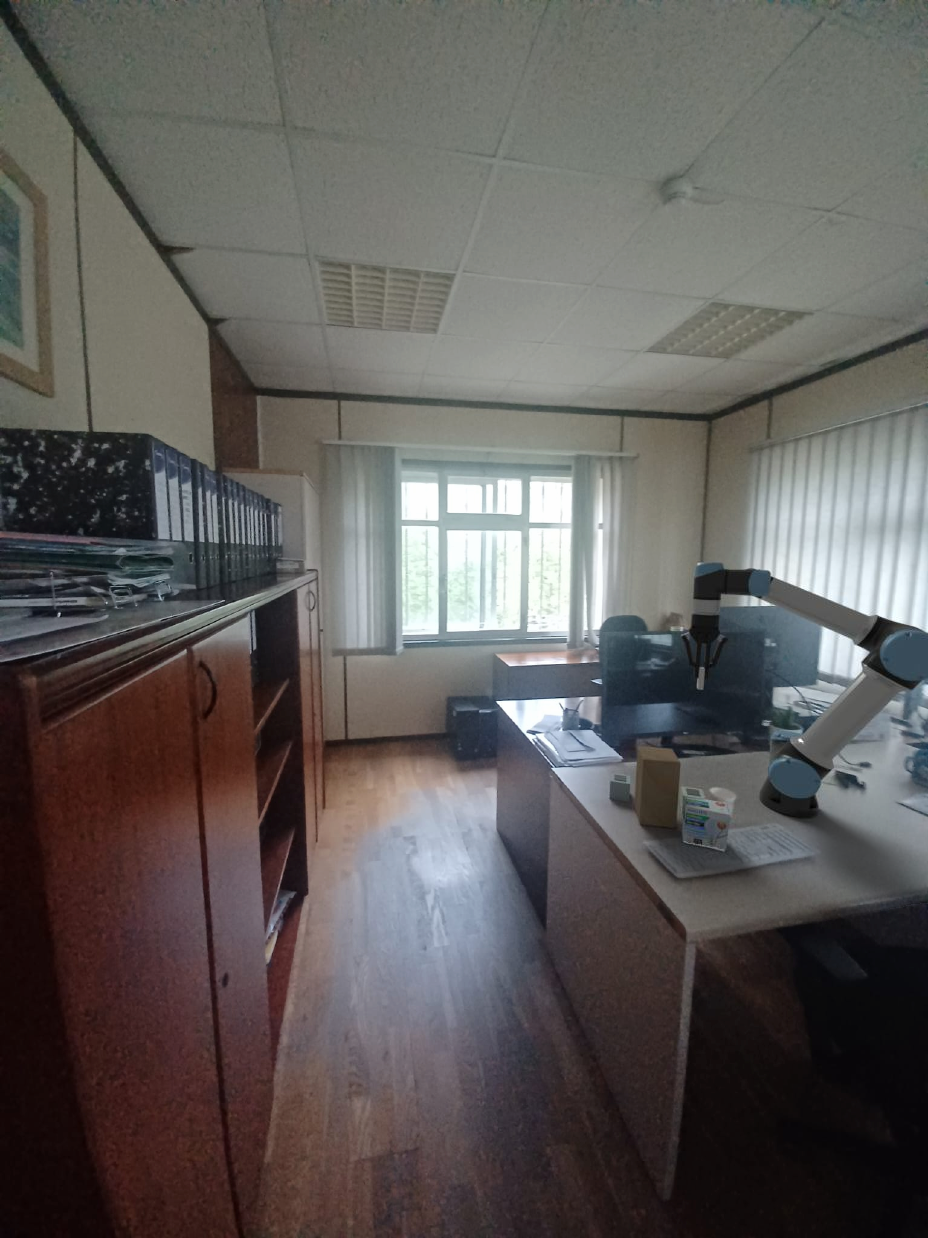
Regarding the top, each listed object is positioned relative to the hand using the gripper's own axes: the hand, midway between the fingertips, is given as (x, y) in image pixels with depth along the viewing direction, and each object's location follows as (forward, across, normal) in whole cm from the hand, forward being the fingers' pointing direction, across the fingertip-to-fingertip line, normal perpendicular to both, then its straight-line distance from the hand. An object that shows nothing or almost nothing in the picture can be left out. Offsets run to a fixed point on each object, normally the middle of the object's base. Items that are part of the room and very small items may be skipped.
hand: (699, 688), depth 143 cm
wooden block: (+37, +12, +16) cm, 42 cm away
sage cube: (+37, +1, +8) cm, 37 cm away
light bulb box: (+37, 0, +24) cm, 44 cm away
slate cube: (+37, +22, +6) cm, 43 cm away
